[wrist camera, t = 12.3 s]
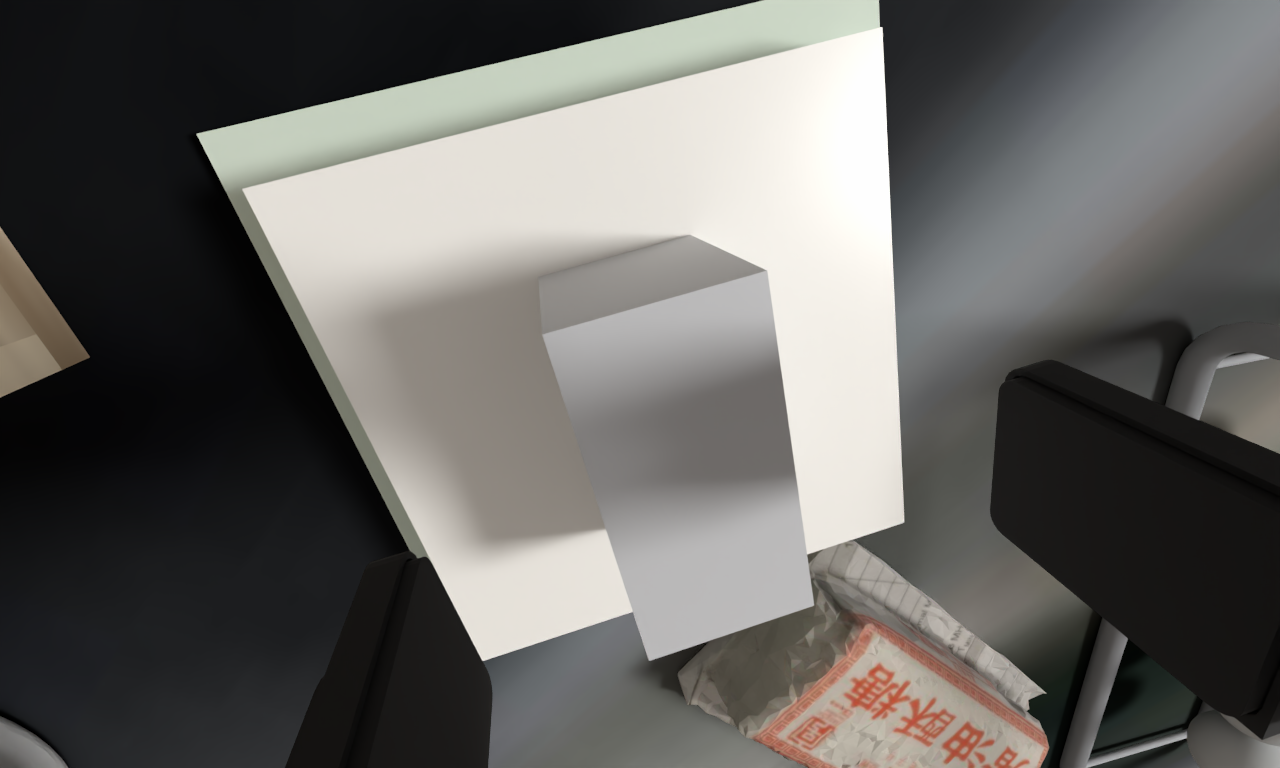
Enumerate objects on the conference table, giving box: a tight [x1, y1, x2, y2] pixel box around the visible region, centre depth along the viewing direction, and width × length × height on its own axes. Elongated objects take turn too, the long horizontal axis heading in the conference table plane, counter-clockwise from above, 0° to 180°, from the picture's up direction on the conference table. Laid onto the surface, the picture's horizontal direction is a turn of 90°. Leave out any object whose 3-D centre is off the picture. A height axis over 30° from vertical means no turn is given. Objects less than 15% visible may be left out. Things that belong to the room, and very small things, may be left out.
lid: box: [242, 27, 904, 661], centre depth 14 cm, size 15×15×8 cm
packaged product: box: [678, 540, 1049, 768], centre depth 25 cm, size 18×5×10 cm
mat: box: [197, 0, 880, 596], centre depth 18 cm, size 18×18×1 cm
